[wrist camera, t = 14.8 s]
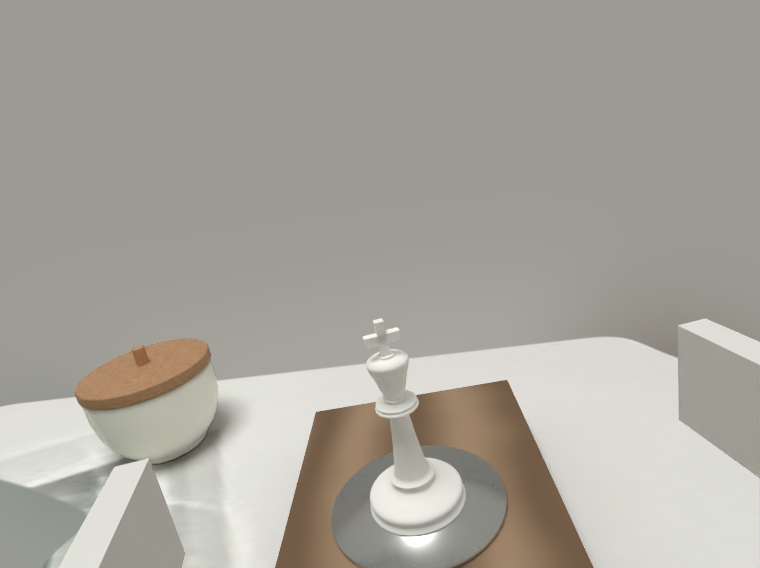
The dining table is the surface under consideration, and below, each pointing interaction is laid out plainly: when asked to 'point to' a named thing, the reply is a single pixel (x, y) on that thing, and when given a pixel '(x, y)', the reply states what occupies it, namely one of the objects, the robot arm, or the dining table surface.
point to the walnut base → (446, 443)
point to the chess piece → (407, 453)
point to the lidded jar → (152, 400)
